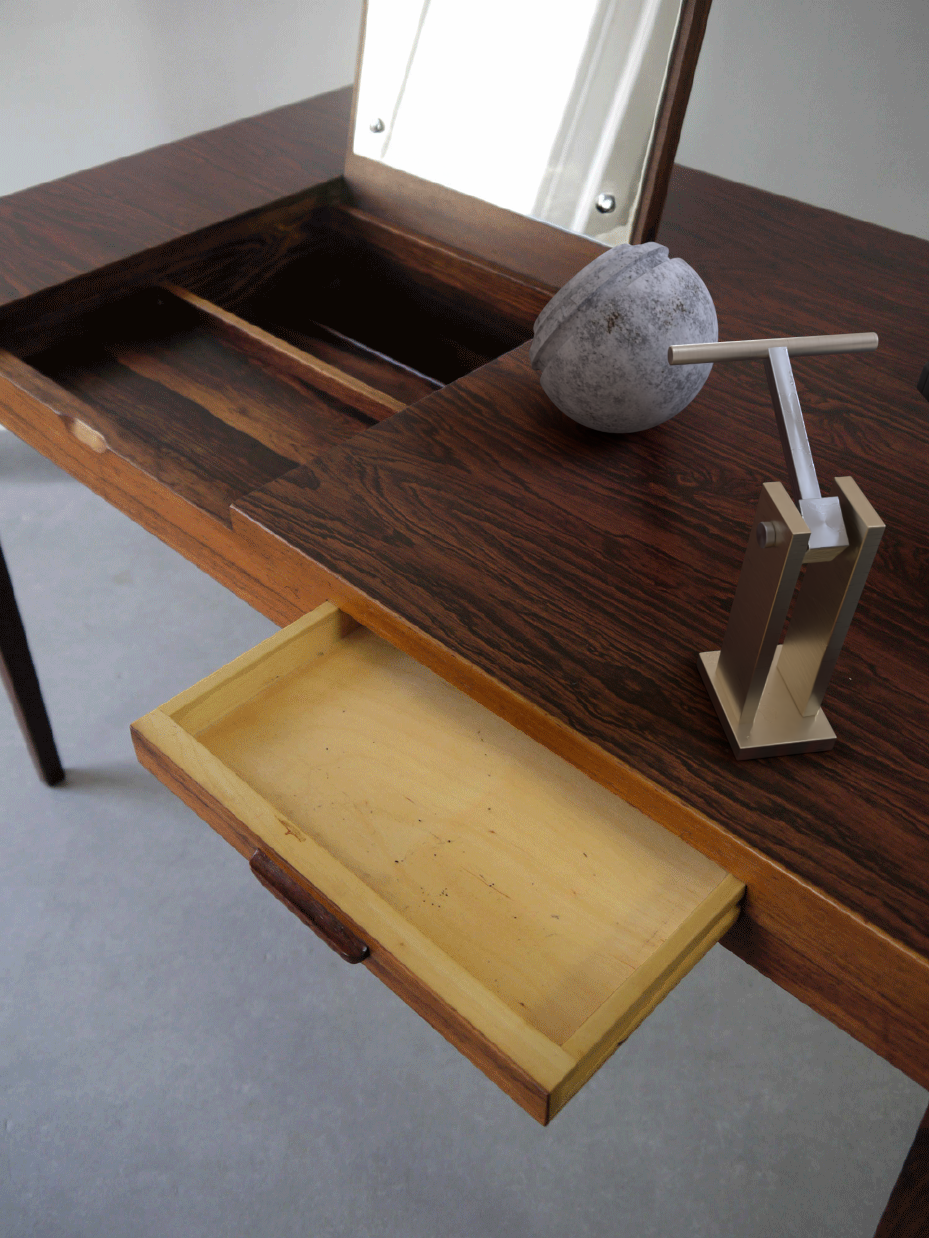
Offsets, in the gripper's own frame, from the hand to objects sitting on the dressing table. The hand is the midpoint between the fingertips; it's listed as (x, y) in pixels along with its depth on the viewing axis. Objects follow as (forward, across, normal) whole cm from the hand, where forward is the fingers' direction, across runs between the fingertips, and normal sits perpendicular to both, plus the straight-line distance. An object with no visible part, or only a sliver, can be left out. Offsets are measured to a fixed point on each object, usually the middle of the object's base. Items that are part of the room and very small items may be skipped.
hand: (926, 382), depth 62 cm
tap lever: (+10, +5, +1) cm, 11 cm away
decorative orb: (+11, -24, +17) cm, 31 cm away
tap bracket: (+10, +10, +17) cm, 22 cm away
